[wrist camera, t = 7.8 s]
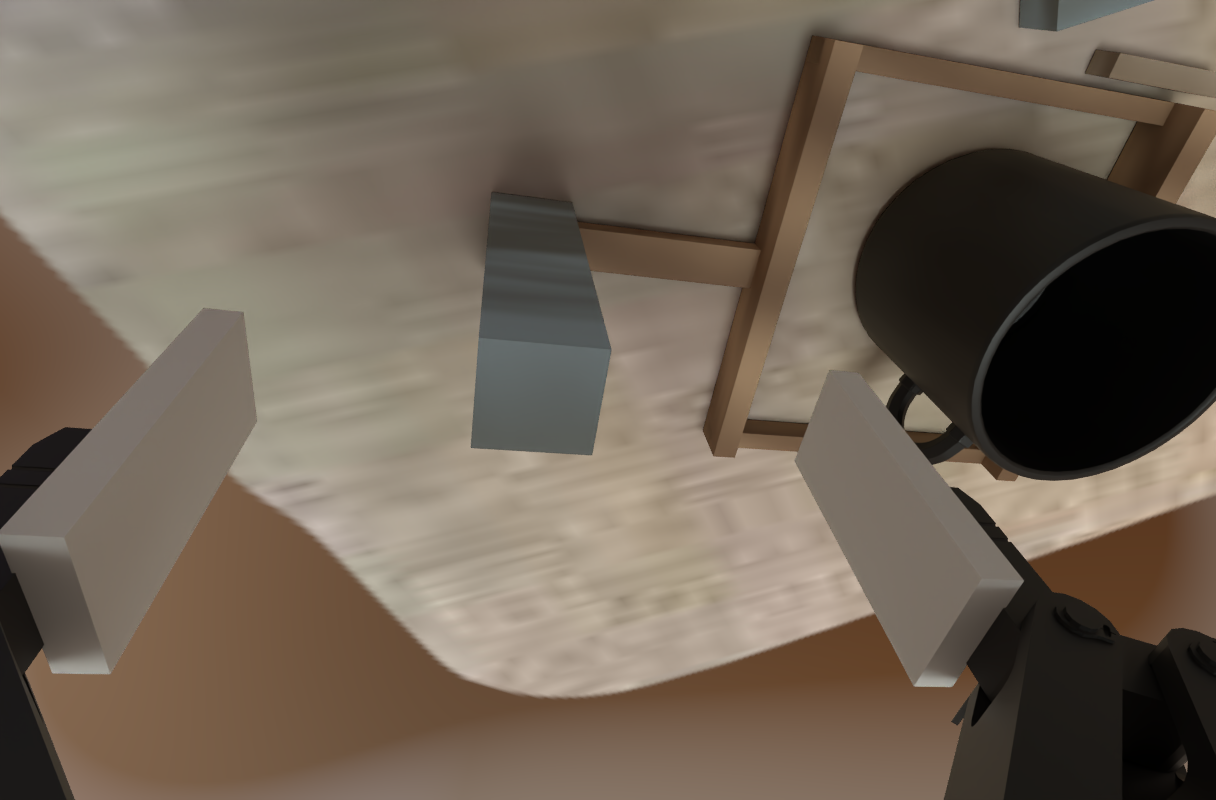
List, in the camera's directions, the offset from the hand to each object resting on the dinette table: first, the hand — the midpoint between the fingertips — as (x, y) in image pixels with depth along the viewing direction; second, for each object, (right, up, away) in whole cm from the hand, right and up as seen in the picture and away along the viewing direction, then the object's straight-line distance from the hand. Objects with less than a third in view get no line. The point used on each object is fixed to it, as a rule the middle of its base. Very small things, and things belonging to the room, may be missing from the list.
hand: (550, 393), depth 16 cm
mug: (+16, +5, +14) cm, 22 cm away
